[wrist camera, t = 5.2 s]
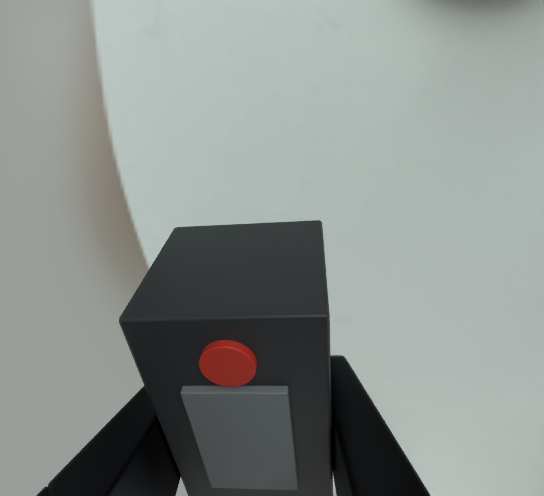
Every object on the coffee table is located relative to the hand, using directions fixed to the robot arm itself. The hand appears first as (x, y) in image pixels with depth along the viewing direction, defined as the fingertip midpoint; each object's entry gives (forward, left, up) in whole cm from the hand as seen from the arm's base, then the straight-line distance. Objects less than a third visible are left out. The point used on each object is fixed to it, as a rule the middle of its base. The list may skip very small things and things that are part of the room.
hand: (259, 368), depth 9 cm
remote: (0, 0, -1) cm, 1 cm away
